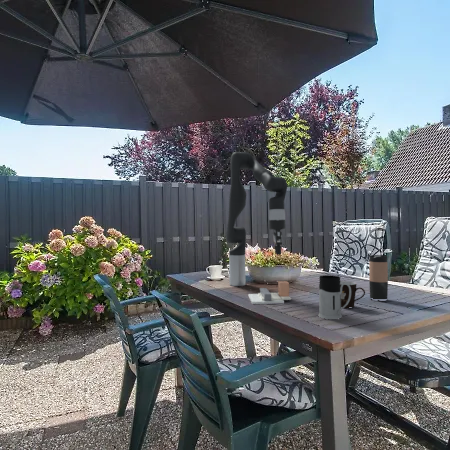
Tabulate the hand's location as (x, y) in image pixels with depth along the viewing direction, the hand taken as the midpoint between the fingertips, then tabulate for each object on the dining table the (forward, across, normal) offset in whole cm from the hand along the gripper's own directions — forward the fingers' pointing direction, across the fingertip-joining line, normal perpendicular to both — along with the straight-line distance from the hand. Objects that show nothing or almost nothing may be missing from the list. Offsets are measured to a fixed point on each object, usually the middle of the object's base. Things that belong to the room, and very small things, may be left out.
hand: (278, 253), depth 158 cm
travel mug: (+22, +1, +45) cm, 50 cm away
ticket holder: (+21, +2, -7) cm, 22 cm away
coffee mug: (+22, +15, +27) cm, 38 cm away
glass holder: (+22, +32, +18) cm, 43 cm away
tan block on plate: (+20, +1, +2) cm, 20 cm away
